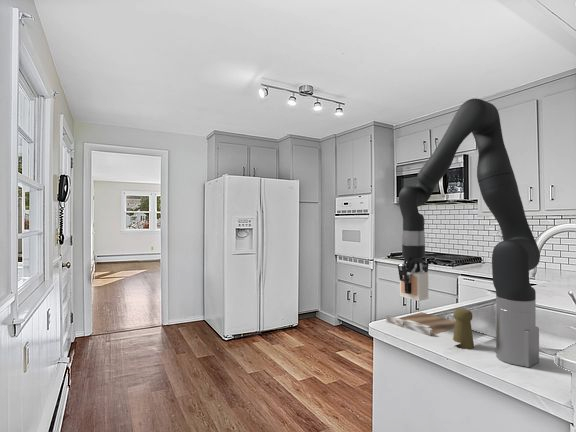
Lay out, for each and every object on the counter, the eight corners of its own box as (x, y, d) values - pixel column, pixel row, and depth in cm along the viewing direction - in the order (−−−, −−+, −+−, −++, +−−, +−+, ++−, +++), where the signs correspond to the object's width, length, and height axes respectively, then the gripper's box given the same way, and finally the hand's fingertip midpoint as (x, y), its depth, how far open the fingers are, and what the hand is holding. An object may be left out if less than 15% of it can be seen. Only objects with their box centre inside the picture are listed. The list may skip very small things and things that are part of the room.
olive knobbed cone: (478, 348, 106) (477, 312, 106) (457, 349, 106) (457, 312, 106) (468, 341, 112) (468, 306, 112) (448, 341, 113) (448, 306, 112)
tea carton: (428, 298, 123) (428, 272, 122) (418, 301, 120) (418, 274, 120) (409, 294, 129) (409, 269, 129) (399, 296, 126) (399, 271, 126)
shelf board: (465, 328, 124) (465, 318, 124) (429, 340, 113) (429, 329, 113) (421, 316, 139) (421, 307, 139) (385, 325, 128) (385, 316, 128)
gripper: (417, 241, 131) (417, 287, 131) (390, 244, 123) (391, 292, 124) (435, 243, 125) (435, 291, 125) (408, 245, 117) (408, 297, 117)
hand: (413, 291), depth 124 cm, fingers closed on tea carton, 5 cm apart
